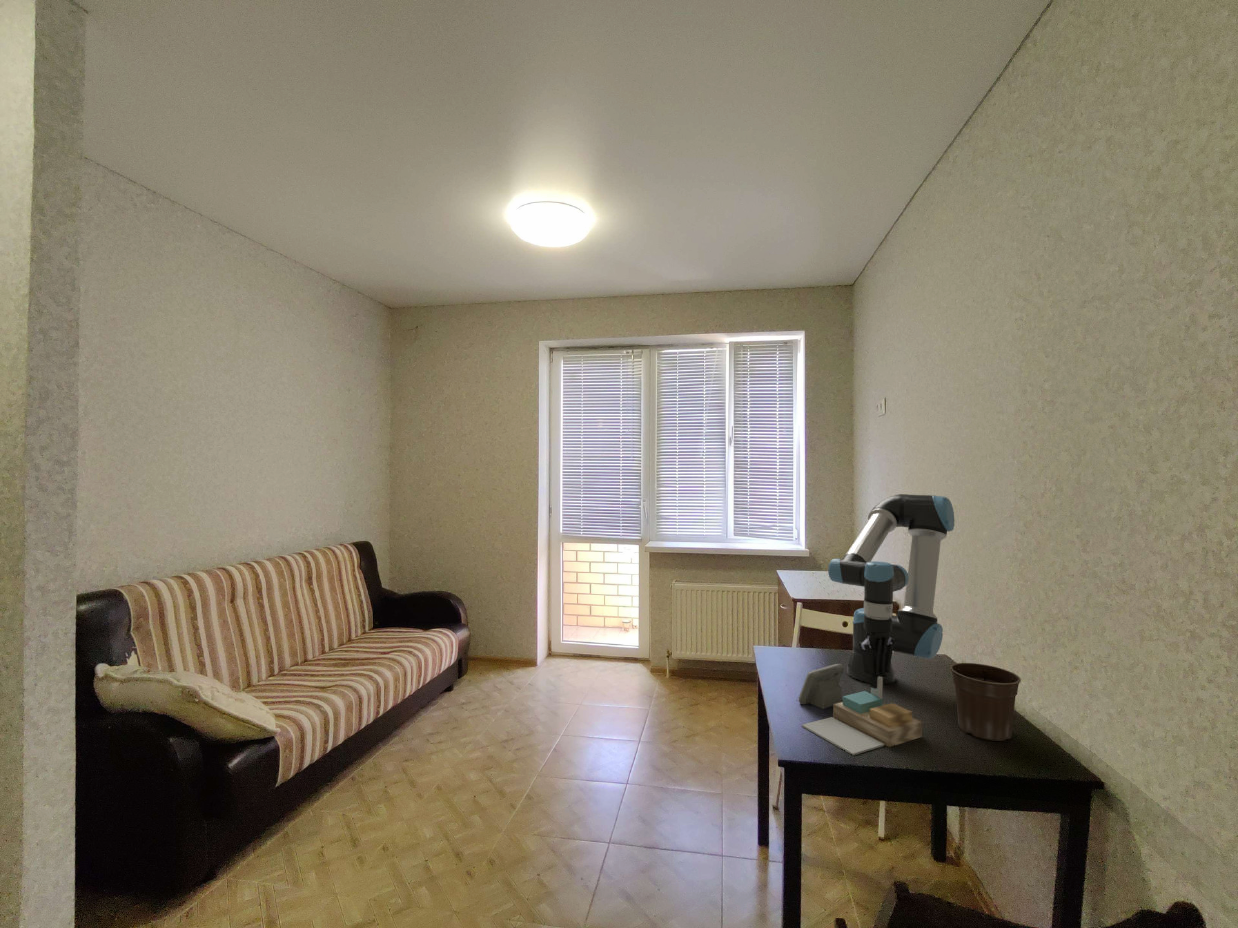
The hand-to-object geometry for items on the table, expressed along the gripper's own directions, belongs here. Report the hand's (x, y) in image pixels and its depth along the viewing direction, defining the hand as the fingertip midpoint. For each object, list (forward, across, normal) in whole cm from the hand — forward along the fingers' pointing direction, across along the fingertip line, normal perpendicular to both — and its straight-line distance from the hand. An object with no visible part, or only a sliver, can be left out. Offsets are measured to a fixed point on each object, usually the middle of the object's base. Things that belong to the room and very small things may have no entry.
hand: (876, 698), depth 161 cm
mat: (+5, -18, -4) cm, 19 cm away
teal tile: (+1, -6, 0) cm, 6 cm away
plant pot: (+5, +20, -18) cm, 28 cm away
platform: (+5, -6, -4) cm, 9 cm away
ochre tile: (+1, -6, -9) cm, 11 cm away
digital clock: (+6, -6, +15) cm, 17 cm away
